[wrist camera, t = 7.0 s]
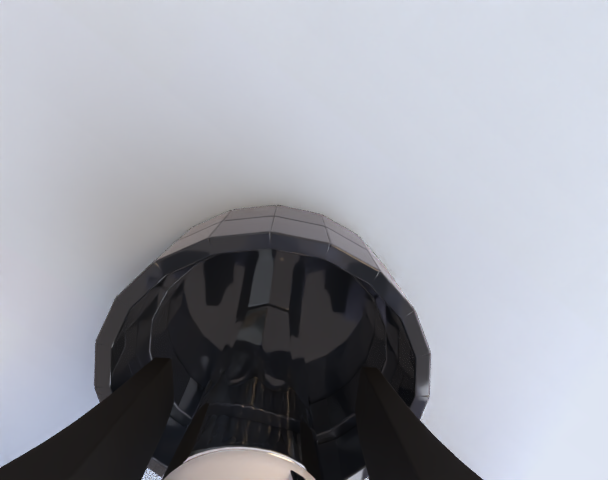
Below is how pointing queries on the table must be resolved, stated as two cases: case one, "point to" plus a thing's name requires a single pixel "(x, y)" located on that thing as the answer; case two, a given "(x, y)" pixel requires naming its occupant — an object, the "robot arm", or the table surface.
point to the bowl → (279, 294)
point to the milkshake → (253, 409)
